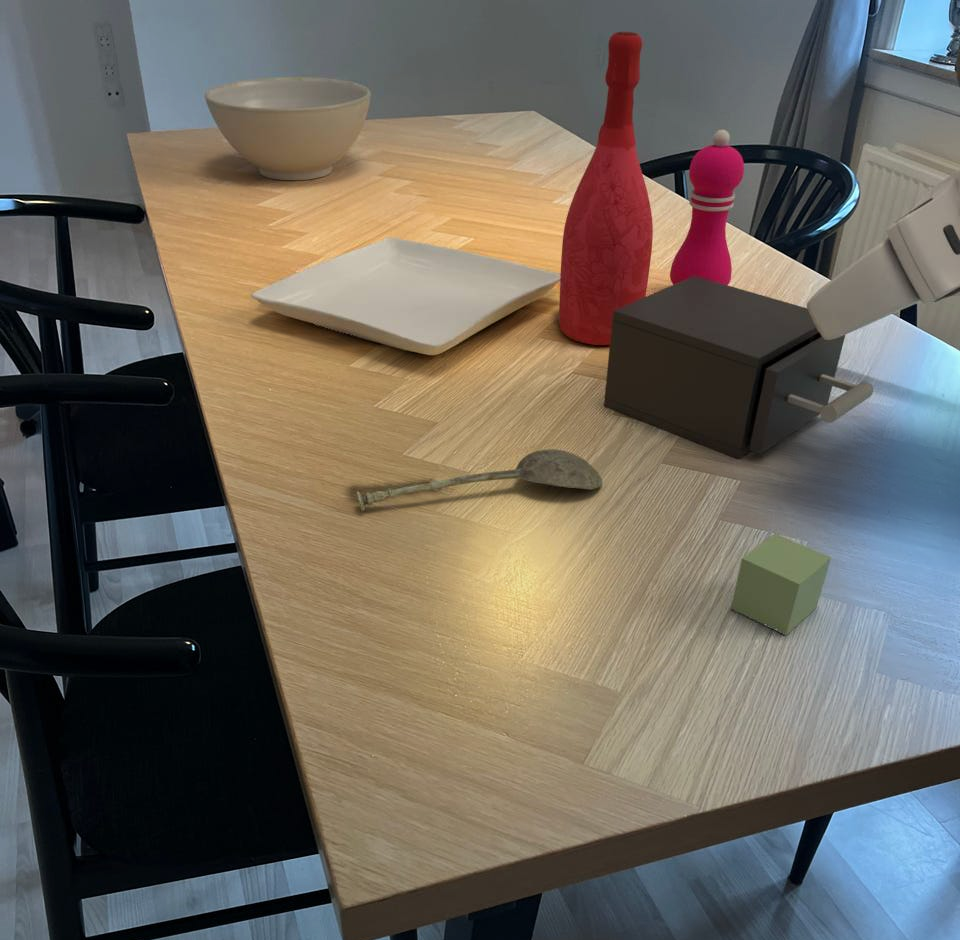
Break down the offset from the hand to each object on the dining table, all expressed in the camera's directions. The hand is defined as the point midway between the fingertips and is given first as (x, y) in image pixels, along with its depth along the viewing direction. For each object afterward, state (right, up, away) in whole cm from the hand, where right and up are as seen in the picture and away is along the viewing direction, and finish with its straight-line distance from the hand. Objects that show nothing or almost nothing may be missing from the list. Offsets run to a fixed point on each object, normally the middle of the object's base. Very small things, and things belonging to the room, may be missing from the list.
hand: (823, 321), depth 86 cm
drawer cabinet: (-7, -5, +13) cm, 15 cm away
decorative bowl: (-62, +52, +82) cm, 115 cm away
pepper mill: (-4, +12, +34) cm, 36 cm away
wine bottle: (-16, +8, +28) cm, 33 cm away
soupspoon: (-30, -15, -1) cm, 34 cm away
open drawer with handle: (-4, -6, +10) cm, 12 cm away
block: (-8, -26, -13) cm, 30 cm away
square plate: (-39, +11, +32) cm, 51 cm away
